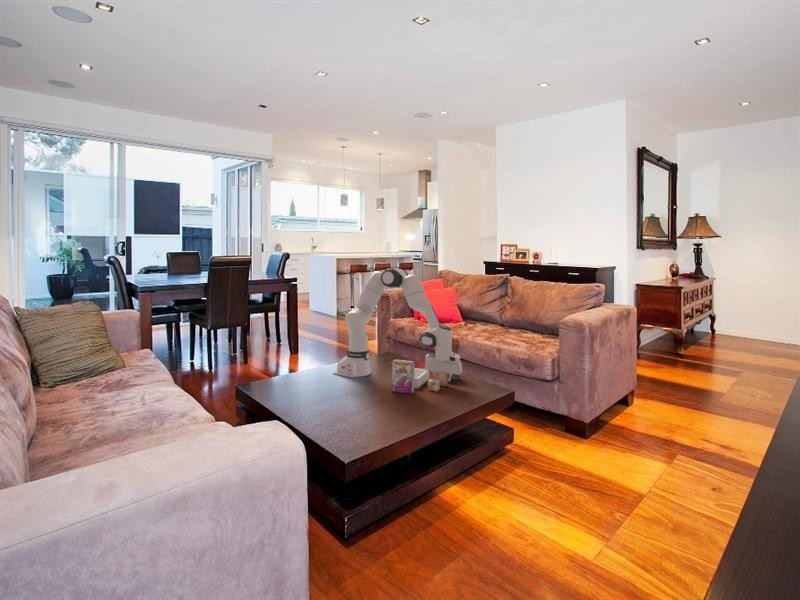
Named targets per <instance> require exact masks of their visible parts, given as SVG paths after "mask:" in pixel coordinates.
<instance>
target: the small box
mask: <svg viewBox="0 0 800 600" xmlns="http://www.w3.org/2000/svg"><path fill="white" fill-rule="evenodd" d="M448 377H450V376H449V374H448ZM451 381H452V382H453V381H455V382H459V381H460V375H456V374H453V375H452V376H451V378H450V382H451Z"/></svg>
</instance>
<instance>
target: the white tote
mask: <svg viewBox="0 0 800 600" xmlns="http://www.w3.org/2000/svg"><path fill="white" fill-rule="evenodd" d="M429 380H430V371H426V370H425V368H416V367H415V369H414V389H420V388H421V387H423V385H424V384H426V383H428V381H429Z"/></svg>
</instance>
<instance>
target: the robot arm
mask: <svg viewBox="0 0 800 600" xmlns="http://www.w3.org/2000/svg"><path fill="white" fill-rule="evenodd" d="M386 288H389V289H391V288H392V289H397V288H400V289H402V291H403V294H404V297H405V300H406V302H407V304H408V306H409V307H410V309H412V310H414V311H417V312H419V313H421V314H423V316H424V317H425V319H426V322H427V325H428V326H429V329H427V330H424V331H423V332H421V333H420V336H419V343H420V344H421V346H422V347H423V348H426V349H431V348H432V349H435V350H434V351H435V353H434V354H431V353H428V354H426V355H425V356H424V357H425V358H424V360H425V362H424V363H425V364H424V369H425V370H426V371H429V372H432V373H433V376H434V377H435V379H438V373H439V372H440V373H448V374H449V376H450V377H448V378H447V381H448V382H451V381H450V378H451V376H452V375H453V374H456V375H459V376H460V375H461V374H462V373H463V363H462V361H461V360H460V359H461V355H460V354H457V353H455V352H453V349H452V344H453V332H452V329H451V327H449V326H448V325H443V324H441V322H440V319H439V318H438V315H437V313H436V311H435V309H434V307H433V305H432V303H431V302H430V300H429V299H428V296H427V295H426V291H425V289H424V286H423V284H422V281H421V280H420V278H419V277H418V275H416V274H409V273H408V272H407V271H406V270H404V269H403V268H398V267H394V268H391V267H390V268H387V269H385V270H383V271H379V270H377V271H374V272H373V273H372V274H371V276H370V277H369V278H368V279H367V281H366V283H365V285H364V287H363V288H362V290H361V292H360V294H359V296H358V301H357V303H356V306H355V307H354V309H352V310H350V311H349V312H347V313H346V315H345V317H344V323H345V325H346V328H347V333H348V346H349V349H348V350H347V351H345V354H346V356H344V357H343V358H341V359H340V360H339V361H338V362H337V364H336V365H337V366H336V368H335V369H334V370H333V371H332V372H333V373H332V374H334V375H338V376H343V377H346V378H357V377H367V376H370V375H371V374H372V372H371V368H370V367H371V366H370V362H369V360H370V351H369V336H368V334H367V329H366V325H368V323H369V322H370V320H371V319H372V316H373V314H374V311H375V309H376V307H377V304H378V303H379V301H380V299H381V297H382V296H383V293H384V291H385V289H386Z"/></svg>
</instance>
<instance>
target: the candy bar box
mask: <svg viewBox="0 0 800 600" xmlns="http://www.w3.org/2000/svg"><path fill="white" fill-rule="evenodd" d="M415 363H416V362H415V360H414V361H412V360H403V359H393V360H392V361H391V392H393V393H400V394H401V393H402V394H409V395H412V394H413V393H414V392H415V388H414V369H415V368H416V367H415Z"/></svg>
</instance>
